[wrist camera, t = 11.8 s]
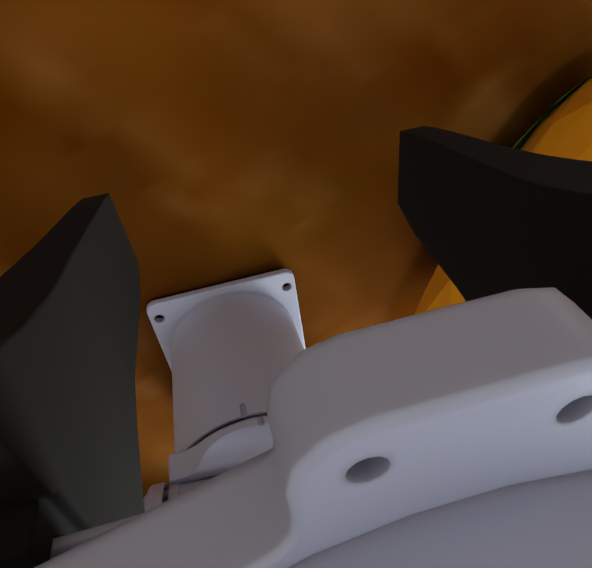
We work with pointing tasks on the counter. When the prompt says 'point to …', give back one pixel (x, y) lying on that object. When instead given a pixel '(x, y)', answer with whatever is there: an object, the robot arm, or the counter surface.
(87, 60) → the counter surface
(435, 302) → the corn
